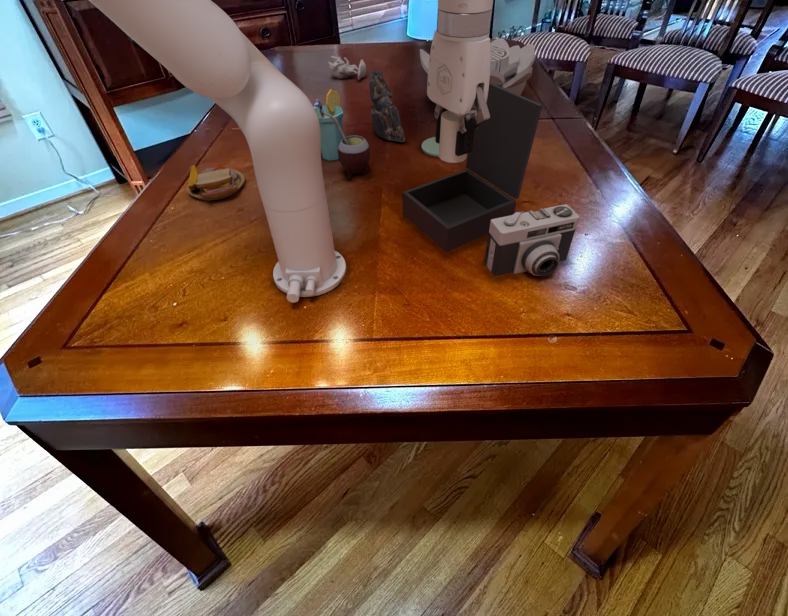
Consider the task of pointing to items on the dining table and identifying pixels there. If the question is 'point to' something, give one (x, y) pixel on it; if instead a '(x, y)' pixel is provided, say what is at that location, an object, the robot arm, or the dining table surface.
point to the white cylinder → (450, 137)
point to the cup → (330, 124)
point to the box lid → (505, 140)
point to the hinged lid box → (456, 208)
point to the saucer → (431, 147)
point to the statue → (384, 110)
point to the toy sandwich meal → (214, 183)
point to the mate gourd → (352, 152)
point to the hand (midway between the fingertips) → (453, 146)
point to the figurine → (346, 68)
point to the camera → (530, 241)
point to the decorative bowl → (504, 64)
